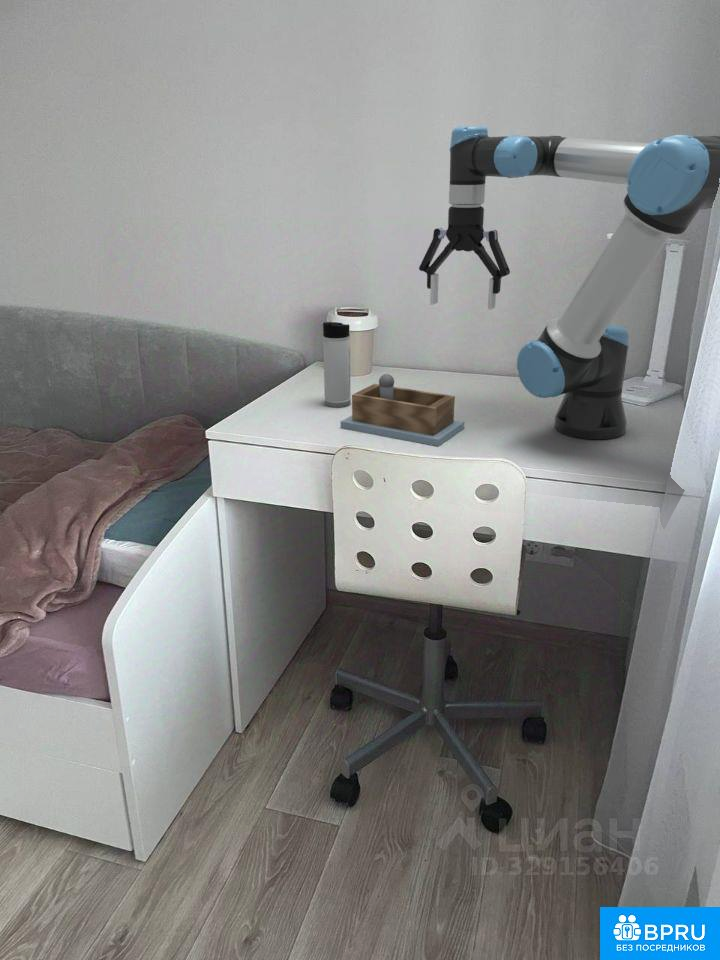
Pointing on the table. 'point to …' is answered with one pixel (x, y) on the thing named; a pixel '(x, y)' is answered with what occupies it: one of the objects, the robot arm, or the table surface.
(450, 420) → the wooden storage tray
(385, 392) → the plate
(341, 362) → the travel mug
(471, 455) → the table surface
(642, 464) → the table surface
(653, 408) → the table surface
